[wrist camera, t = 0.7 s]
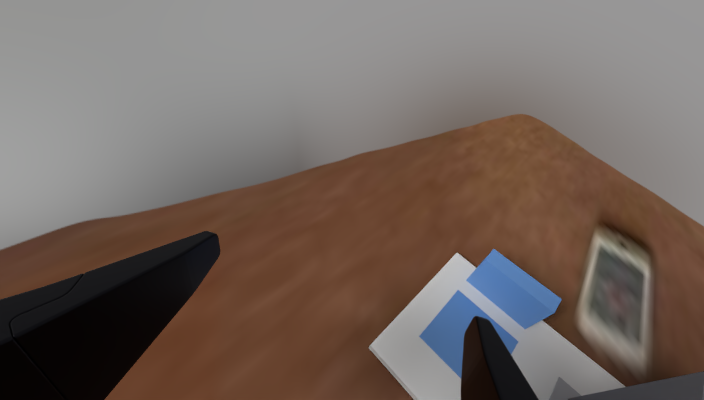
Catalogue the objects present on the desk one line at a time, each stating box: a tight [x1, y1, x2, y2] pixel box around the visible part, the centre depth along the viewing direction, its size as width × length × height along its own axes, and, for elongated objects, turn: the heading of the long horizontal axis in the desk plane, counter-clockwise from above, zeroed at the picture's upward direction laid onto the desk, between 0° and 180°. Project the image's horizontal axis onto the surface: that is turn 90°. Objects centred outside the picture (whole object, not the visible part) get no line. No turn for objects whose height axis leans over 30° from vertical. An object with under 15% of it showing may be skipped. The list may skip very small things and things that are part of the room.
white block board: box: [369, 249, 625, 400], centre depth 20 cm, size 20×13×5 cm, turn 44°
